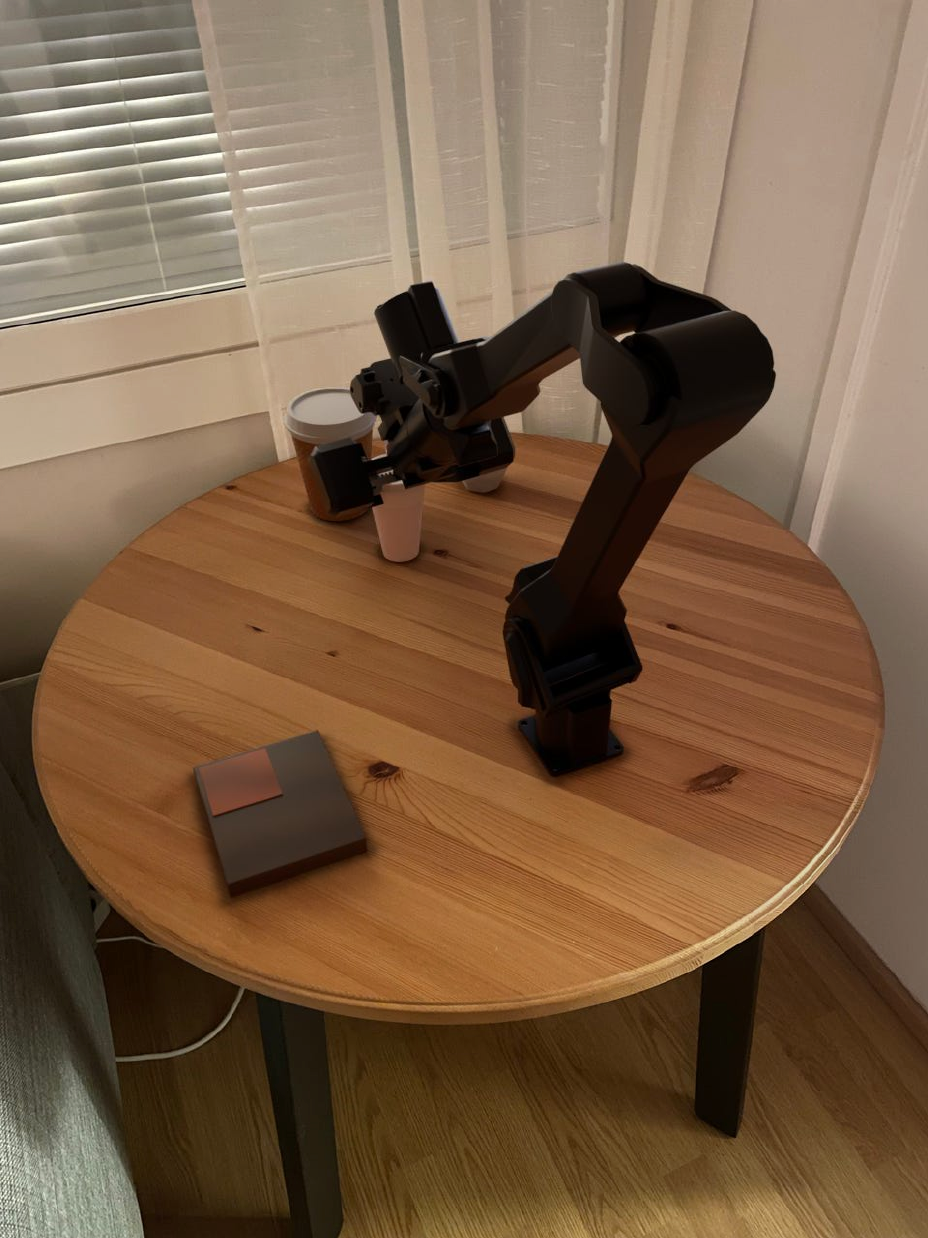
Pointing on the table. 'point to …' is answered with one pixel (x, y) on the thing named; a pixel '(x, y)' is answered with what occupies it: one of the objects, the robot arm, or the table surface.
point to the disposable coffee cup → (326, 433)
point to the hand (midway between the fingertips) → (391, 485)
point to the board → (278, 812)
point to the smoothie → (399, 519)
